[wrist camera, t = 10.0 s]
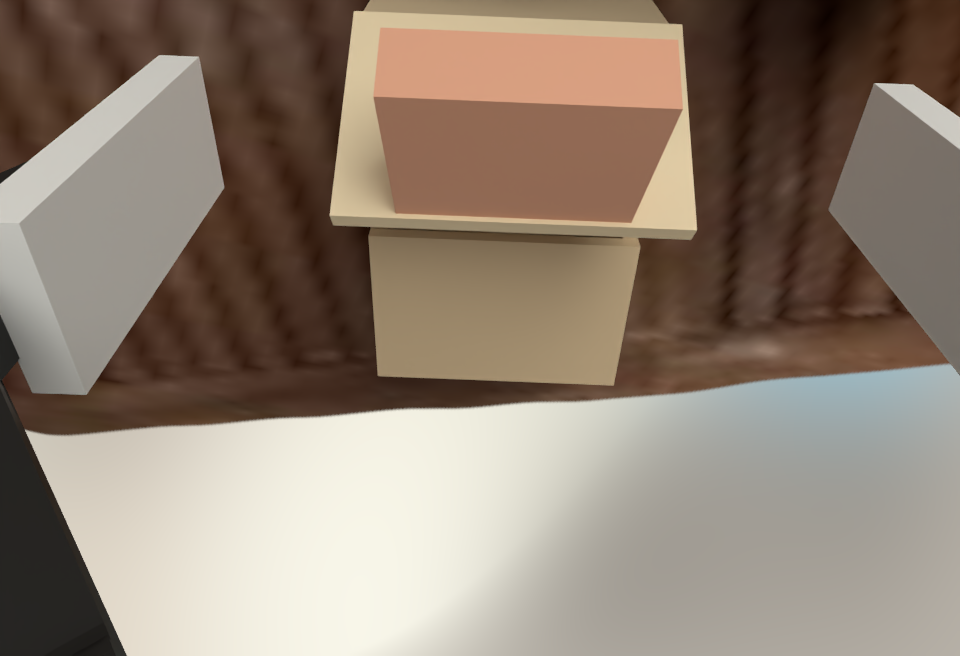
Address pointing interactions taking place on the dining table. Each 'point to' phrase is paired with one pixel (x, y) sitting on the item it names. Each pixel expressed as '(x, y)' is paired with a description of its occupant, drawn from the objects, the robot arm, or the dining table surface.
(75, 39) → the dining table surface
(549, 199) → the flap
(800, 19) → the dining table surface
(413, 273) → the carton
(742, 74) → the dining table surface
